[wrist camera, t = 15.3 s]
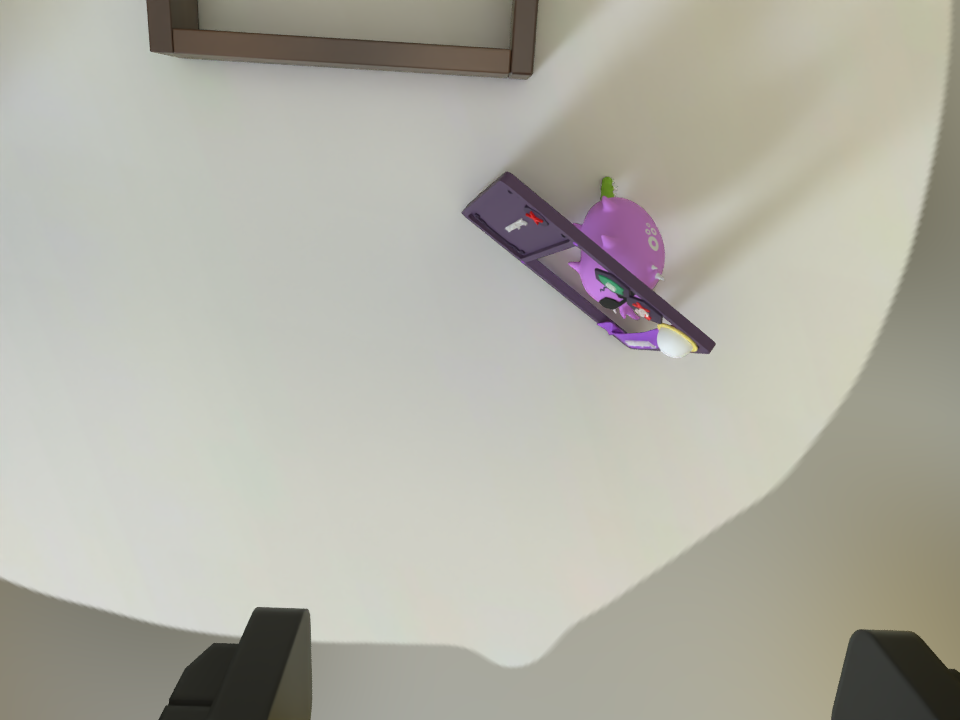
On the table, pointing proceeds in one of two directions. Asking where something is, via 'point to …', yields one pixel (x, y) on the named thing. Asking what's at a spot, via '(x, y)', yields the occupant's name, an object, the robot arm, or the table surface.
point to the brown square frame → (341, 46)
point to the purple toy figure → (593, 258)
